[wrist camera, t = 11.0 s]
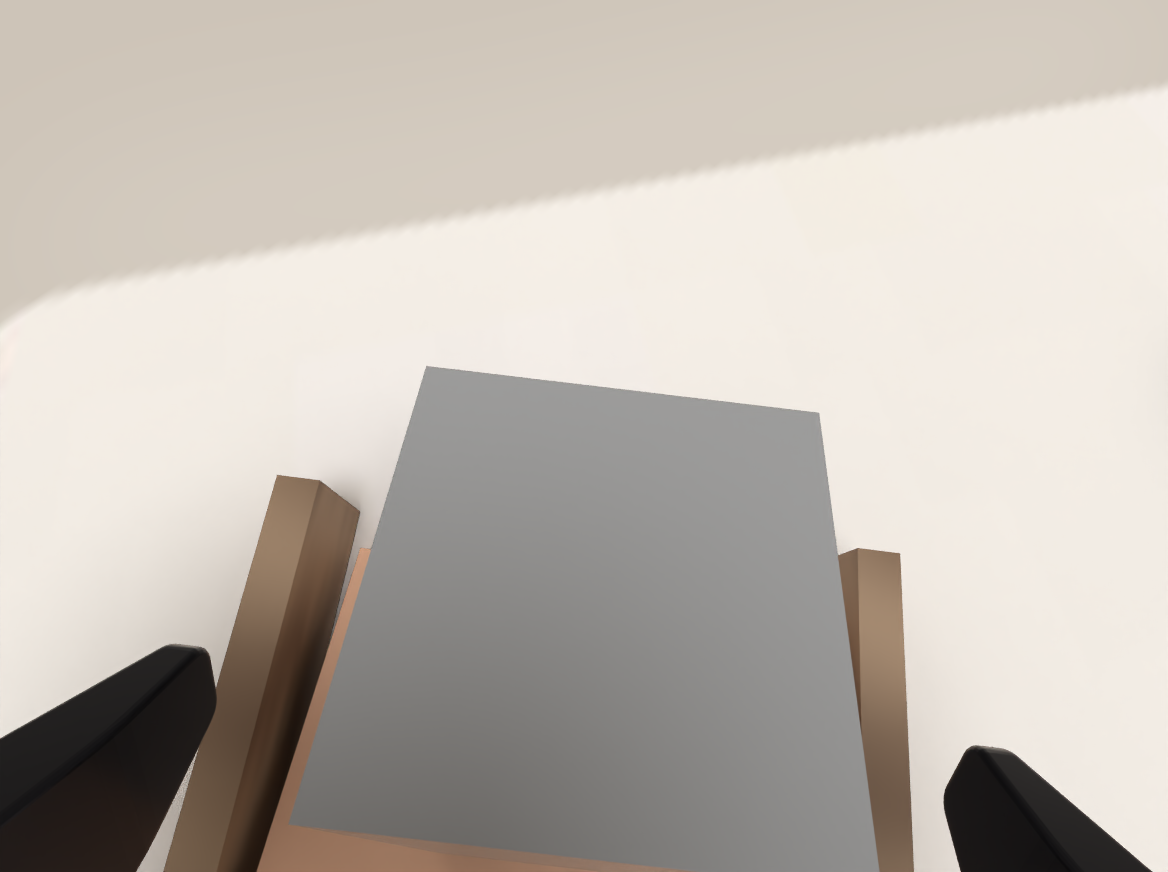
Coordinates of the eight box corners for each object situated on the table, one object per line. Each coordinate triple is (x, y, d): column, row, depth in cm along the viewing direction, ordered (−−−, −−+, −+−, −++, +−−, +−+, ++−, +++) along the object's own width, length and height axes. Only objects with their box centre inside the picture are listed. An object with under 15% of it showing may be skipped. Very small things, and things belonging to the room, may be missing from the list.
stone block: (658, 878, 16) (882, 892, 6) (441, 853, 16) (288, 824, 6) (664, 657, 19) (818, 413, 9) (481, 635, 19) (426, 366, 9)
